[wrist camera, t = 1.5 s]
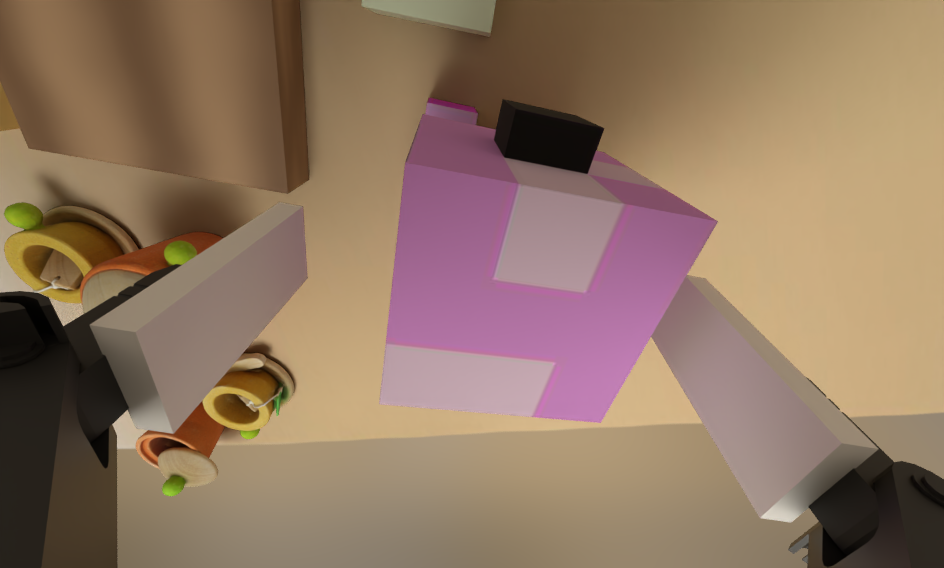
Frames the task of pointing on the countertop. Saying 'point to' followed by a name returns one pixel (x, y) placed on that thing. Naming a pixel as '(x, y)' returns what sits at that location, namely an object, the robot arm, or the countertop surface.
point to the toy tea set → (105, 275)
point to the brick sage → (440, 13)
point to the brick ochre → (6, 113)
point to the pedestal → (162, 85)
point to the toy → (527, 266)
